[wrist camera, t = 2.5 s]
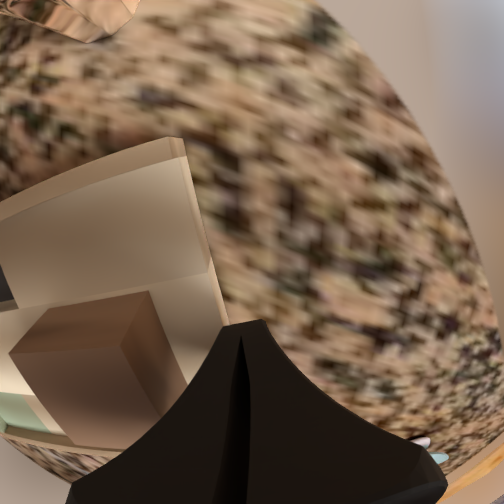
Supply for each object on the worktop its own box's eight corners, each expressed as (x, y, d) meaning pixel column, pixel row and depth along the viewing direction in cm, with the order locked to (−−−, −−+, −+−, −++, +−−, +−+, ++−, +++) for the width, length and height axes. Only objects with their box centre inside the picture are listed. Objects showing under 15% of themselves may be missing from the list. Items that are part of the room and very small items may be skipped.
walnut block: (189, 388, 11) (181, 449, 8) (96, 394, 11) (75, 444, 8) (148, 290, 9) (119, 345, 7) (48, 308, 9) (8, 353, 7)
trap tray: (258, 416, 14) (261, 451, 11) (17, 416, 14) (4, 437, 12) (182, 138, 9) (167, 136, 7) (-72, 250, 10) (-95, 263, 7)
